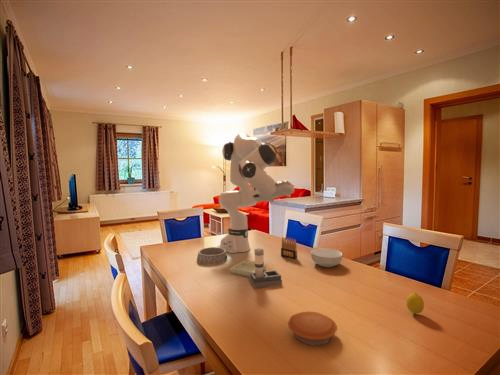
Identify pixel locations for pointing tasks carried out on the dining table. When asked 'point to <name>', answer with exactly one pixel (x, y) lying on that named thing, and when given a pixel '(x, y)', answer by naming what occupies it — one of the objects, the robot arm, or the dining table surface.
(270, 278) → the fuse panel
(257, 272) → the fuse
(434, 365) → the dining table surface
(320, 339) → the pie
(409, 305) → the lemon
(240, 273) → the tray
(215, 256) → the dog bowl
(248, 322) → the dining table surface
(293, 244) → the ammunition clip
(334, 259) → the cereal bowl
